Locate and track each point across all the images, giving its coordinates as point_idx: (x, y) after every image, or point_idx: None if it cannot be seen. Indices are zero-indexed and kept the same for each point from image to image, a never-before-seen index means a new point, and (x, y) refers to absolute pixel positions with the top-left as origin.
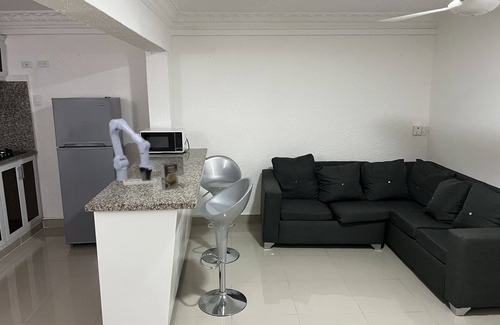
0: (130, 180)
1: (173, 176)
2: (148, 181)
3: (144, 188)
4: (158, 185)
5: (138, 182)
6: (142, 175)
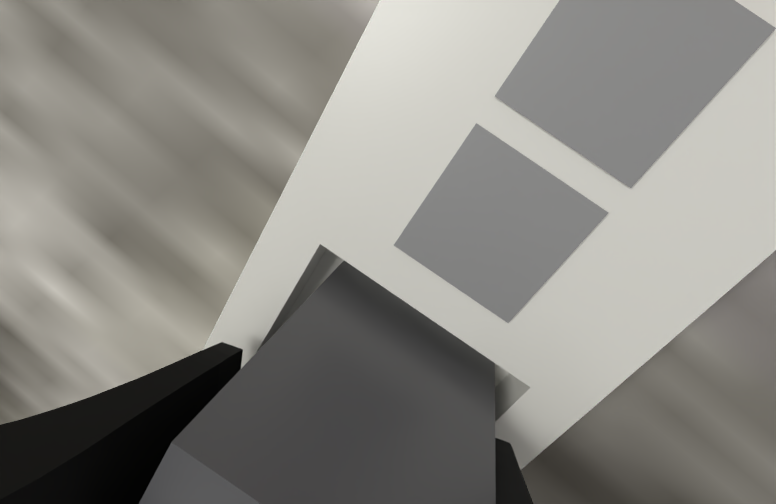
0: (723, 75)
1: None
2: (222, 322)
3: (60, 28)
4: (107, 331)
5: (326, 122)
6: (258, 365)
